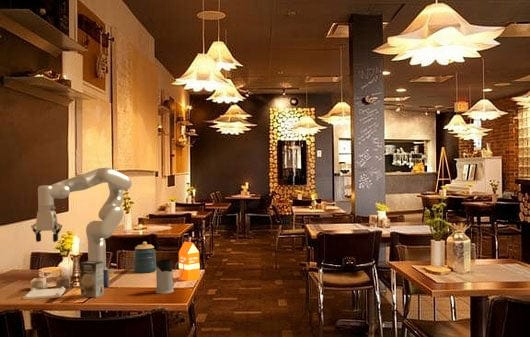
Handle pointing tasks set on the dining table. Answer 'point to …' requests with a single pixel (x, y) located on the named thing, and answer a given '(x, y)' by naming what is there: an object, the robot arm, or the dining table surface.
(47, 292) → the baseplate
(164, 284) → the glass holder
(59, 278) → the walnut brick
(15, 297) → the dining table surface
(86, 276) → the coffee box
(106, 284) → the flask
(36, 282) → the ash brick
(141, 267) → the canister
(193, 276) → the orange juice
